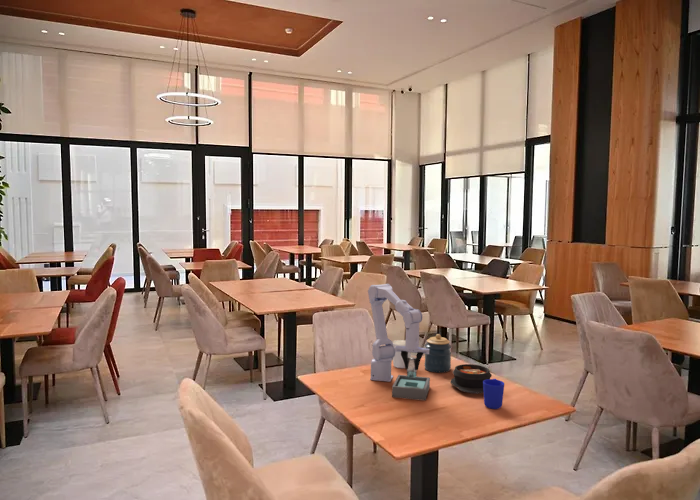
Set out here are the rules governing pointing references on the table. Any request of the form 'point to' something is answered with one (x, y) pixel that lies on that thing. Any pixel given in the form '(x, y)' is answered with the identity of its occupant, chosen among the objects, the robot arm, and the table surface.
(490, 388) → the mug
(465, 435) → the table surface
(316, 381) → the table surface
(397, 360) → the candle holder
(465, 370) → the casserole
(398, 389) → the tray
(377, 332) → the robot arm
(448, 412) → the table surface
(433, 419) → the table surface
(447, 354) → the canister
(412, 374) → the peg
